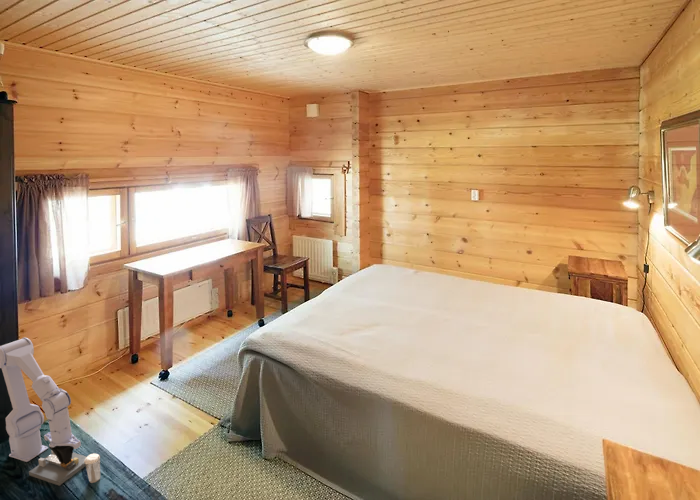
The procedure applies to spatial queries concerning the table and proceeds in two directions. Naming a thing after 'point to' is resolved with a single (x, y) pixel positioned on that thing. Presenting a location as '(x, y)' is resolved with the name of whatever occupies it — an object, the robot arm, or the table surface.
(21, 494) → the table surface
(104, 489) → the table surface
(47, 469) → the base board
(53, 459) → the latch bar
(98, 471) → the milkshake
